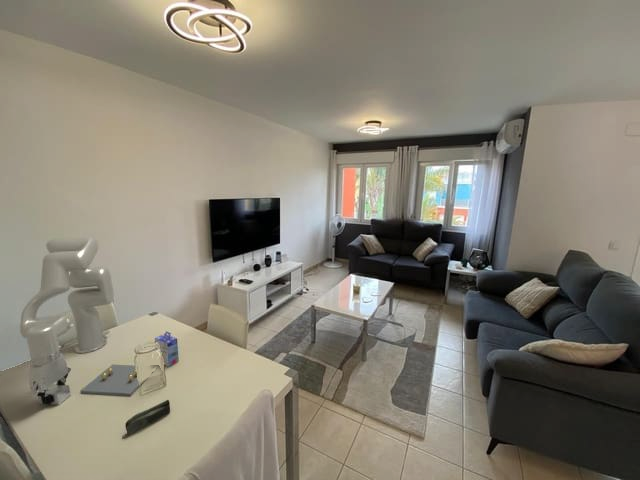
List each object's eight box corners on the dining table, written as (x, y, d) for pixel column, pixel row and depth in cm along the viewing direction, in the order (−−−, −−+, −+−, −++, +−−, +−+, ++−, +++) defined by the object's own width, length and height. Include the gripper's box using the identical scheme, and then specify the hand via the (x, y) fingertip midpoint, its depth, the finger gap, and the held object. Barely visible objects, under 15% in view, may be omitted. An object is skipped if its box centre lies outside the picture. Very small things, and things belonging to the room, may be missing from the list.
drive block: (51, 394, 104) (49, 384, 103) (70, 395, 104) (68, 385, 103) (38, 403, 100) (36, 393, 99) (58, 404, 100) (56, 394, 99)
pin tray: (113, 366, 121) (111, 358, 120) (156, 369, 120) (156, 361, 120) (80, 393, 106) (79, 384, 105) (130, 396, 105) (129, 387, 104)
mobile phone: (167, 397, 99) (119, 422, 88) (170, 401, 97) (121, 427, 86) (168, 408, 100) (120, 434, 89) (171, 413, 98) (123, 440, 87)
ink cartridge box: (179, 360, 127) (177, 333, 124) (169, 367, 122) (166, 339, 119) (166, 354, 131) (164, 328, 128) (155, 360, 126) (153, 333, 123)
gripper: (59, 342, 106) (67, 381, 110) (9, 371, 90) (20, 415, 94) (77, 343, 106) (84, 382, 110) (30, 373, 90) (40, 417, 93)
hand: (54, 397), depth 102 cm, fingers closed on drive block, 4 cm apart
